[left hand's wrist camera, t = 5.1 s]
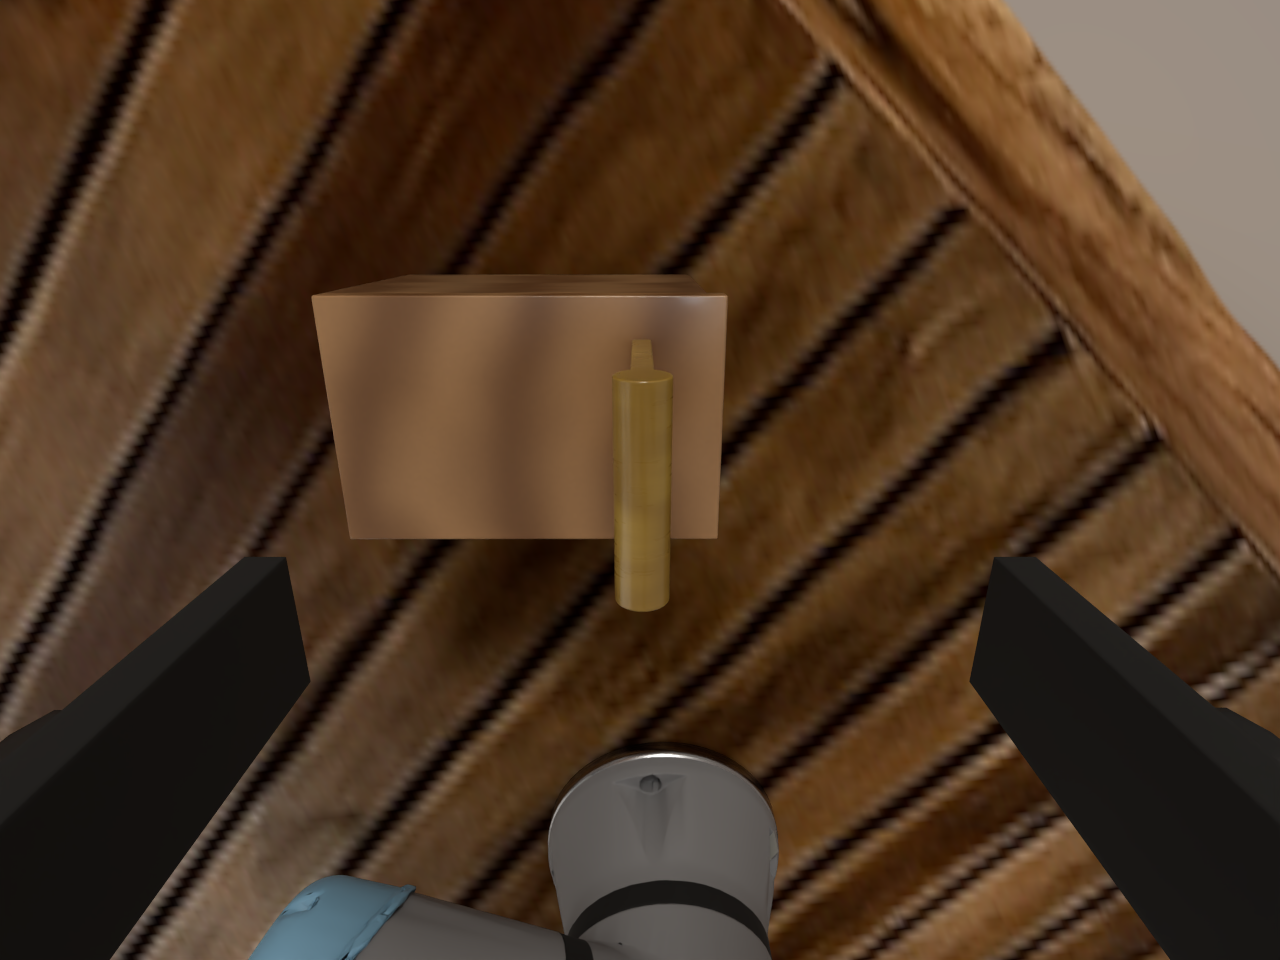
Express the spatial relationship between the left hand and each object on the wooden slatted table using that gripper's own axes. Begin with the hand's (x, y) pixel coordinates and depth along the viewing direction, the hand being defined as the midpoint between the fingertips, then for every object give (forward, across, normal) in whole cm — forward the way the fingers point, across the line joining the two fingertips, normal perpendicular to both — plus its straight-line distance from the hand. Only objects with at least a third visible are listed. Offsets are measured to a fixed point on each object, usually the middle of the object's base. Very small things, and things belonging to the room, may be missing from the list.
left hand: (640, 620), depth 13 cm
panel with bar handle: (+15, +4, 0) cm, 15 cm away
